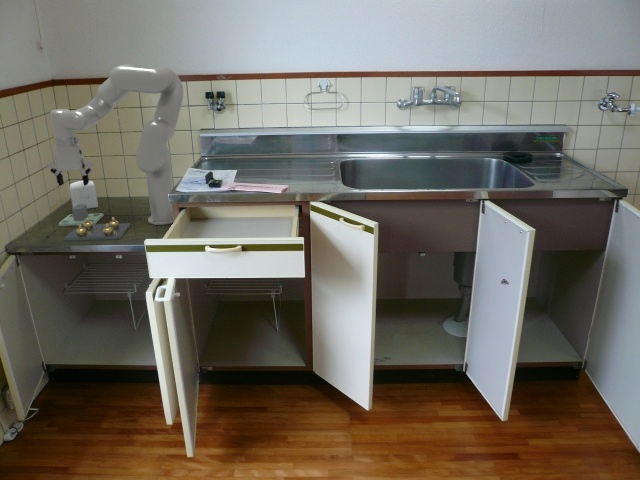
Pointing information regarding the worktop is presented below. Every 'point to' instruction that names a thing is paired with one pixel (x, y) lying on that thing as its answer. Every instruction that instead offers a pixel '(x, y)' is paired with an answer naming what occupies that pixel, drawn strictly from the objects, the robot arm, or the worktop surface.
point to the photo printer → (83, 194)
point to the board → (71, 220)
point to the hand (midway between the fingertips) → (73, 184)
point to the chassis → (98, 231)
